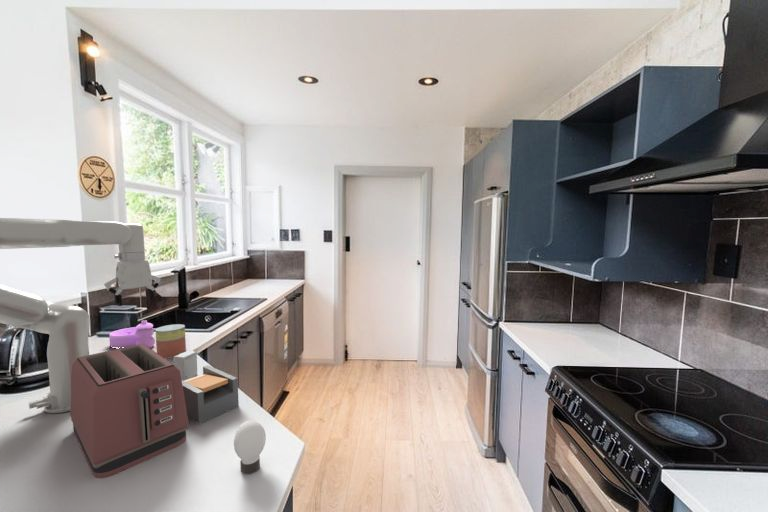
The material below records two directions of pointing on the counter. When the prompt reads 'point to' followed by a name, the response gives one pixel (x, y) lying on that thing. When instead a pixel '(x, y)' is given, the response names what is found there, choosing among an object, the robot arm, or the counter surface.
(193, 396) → the grey open box
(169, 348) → the canned food
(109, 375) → the toaster
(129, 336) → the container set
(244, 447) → the light bulb
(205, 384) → the rocker switch
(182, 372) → the skincare box
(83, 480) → the counter surface
